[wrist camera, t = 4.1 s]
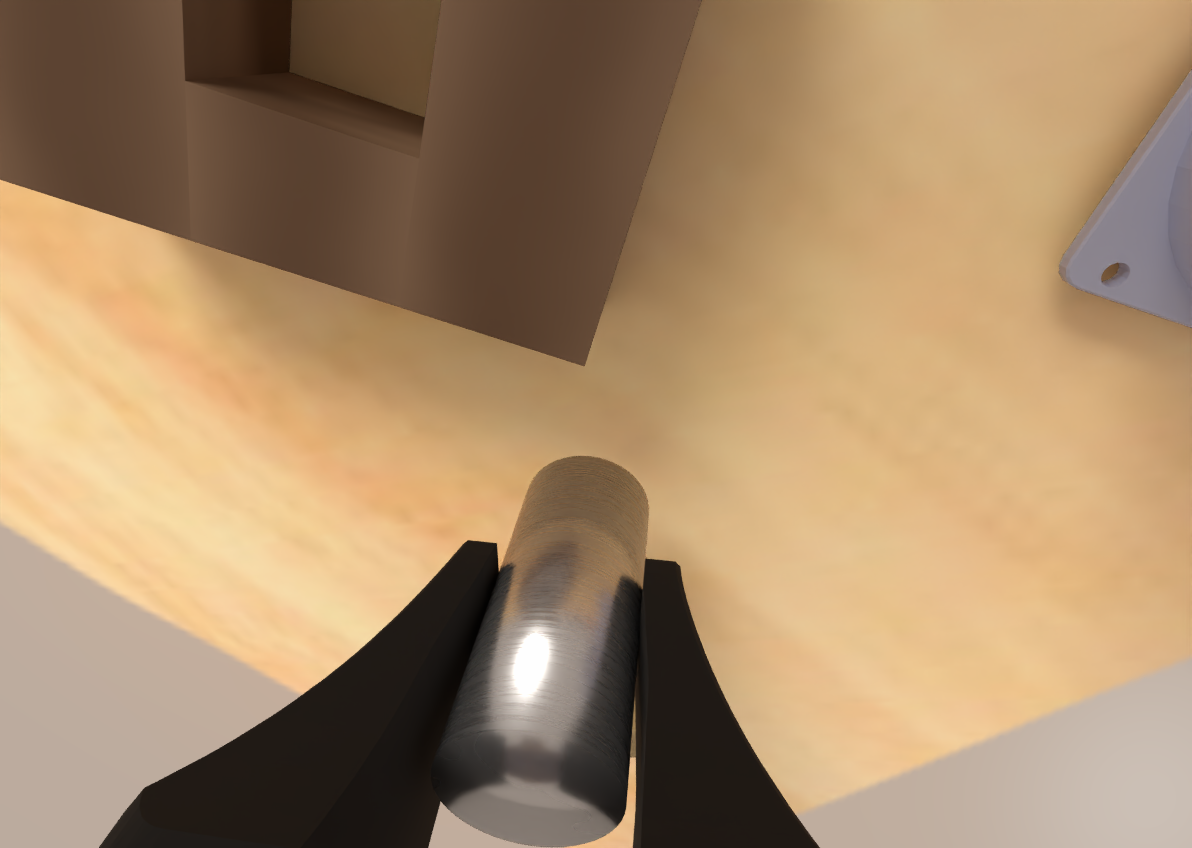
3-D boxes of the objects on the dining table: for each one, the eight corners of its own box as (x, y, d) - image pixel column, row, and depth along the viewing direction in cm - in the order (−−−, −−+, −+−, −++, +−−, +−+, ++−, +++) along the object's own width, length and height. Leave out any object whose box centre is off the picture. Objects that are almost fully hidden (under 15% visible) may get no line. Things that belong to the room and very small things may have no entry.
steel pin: (666, 479, 15) (654, 768, 9) (626, 568, 17) (593, 865, 11) (543, 439, 15) (448, 707, 9) (514, 533, 17) (416, 814, 11)
